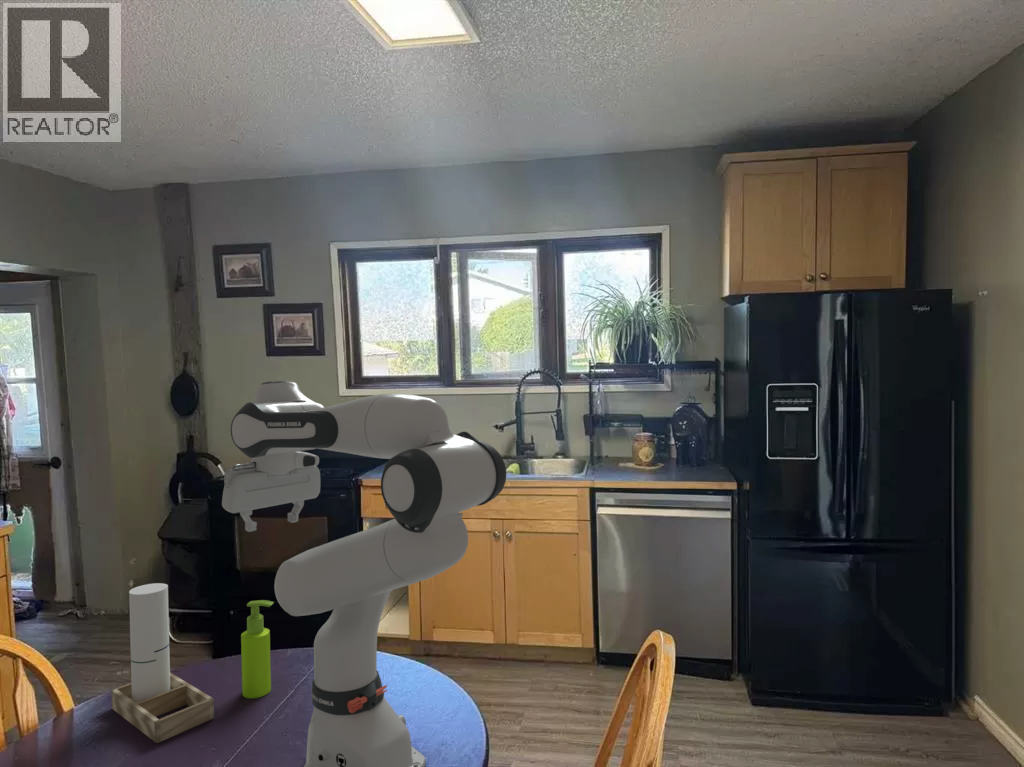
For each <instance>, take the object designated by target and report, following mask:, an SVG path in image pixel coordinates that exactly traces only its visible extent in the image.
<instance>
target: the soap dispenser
mask: <svg viewBox="0 0 1024 767" xmlns="http://www.w3.org/2000/svg"><path fill="white" fill-rule="evenodd" d="M274 603H275V601H271V600H268V599H267V600H266V599H260V600H259V599H258V600H250V601H249V602H248V603H247V604H246V607H250V615H249V616H247V618H246V630H245V631H243V632H242V633H241V634H240V642H241V643H240V645H241V648H240V650H241V652H240V653H241V654H240V656H241V682H242V683H241V687H242V691H241V692H242V693H241V695H242V697H244V698H246V699H258V698H261V697H265V696H266V695H267V694H270V693H271V691H272V677H271V676H272V673H271V671H272V670H271V633H270V632H271V630H270V629H269V628H266V627H264V624H265V623H264V615H263V614H262V613H260V607H267V608H270V607H271V606H272V605H274Z"/></svg>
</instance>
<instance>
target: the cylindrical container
mask: <svg viewBox="0 0 1024 767" xmlns="http://www.w3.org/2000/svg"><path fill="white" fill-rule="evenodd" d="M128 597H129V600H128V601H129V638H130V642H129V643H130V644H129V645H130V667H131V668H130V675H131V676H130V677H131V678H130V680H131V682H130V683H131V685H132V700H133V701H134V702H135V703H138V702H140V701H143V700H145V699H148V698H151V697H153V696H156V695H158V694H161V693H164V692H166V691H169V690H170V673H171V661H170V624H169V623H170V621H169V618H170V617H169V616H170V615H169V614H170V613H169V585H168V584H167V583H162V582H160V583H159V582H156V583H147V584H143V585H139V586H136V587H133V588H131V589H130V590H129V591H128Z"/></svg>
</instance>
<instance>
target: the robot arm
mask: <svg viewBox="0 0 1024 767" xmlns="http://www.w3.org/2000/svg"><path fill="white" fill-rule="evenodd" d="M230 436H231V440H232V442H233V444H234V445H235V446H236V447H237V449H238V450H239V451H240V452H242V454H244V455H246V456H247V457H248V458H251V462H250V461H249V462H244V463H241V464H240V463H236V464H233V465H231V467H229V468H227V470H226V471H224V477H223V478H224V479H223V480H224V481H223V483H224V487H223V491H222V498H221V506H222V508H223V509H224V510H225V511H227V512H228V513H231V514H238V513H239V515H240V517H241V519H243V522H244V529H245V531H246V532H248V533H251V532H255V531H257V526H258V523H257V522H258V521H254V520H252V519H251V517H250V516H252V515H253V511H254V510H258V509H259V510H260V509H265V508H269V507H274V506H280V505H281V506H282V505H285V504H291V503H292V504H293V506H292V508H291V511H290V512H287V522H289V523H290V524H291V523H297V522H299V514H300V513H301V511H302V509H303V508H304V505H305V501H307V500H312V499H316V498H318V496H319V494H320V493H321V472H320V469H319V467H318V465H319V463H320V457H319V455H316V454H314V453H310V452H306V451H311V450H316V449H318V450H325V451H332V452H338V453H343V454H344V453H345V454H351V455H356V456H357V455H358V456H361V457H369V458H376V459H386V460H388V461H387V462H386V464H385V465H384V467H383V470H382V475H381V478H380V490H381V491H380V492H381V495H382V499H383V501H384V503H385V505H386V507H387V509H388V511H389V512H390V514H391V516H392V517H394V518H392V519H390V520H388V521H386V522H383V523H380V524H378V525H376V526H372V527H370V528H368V529H363V530H362V531H358V532H356V533H353V534H349V535H346V536H344V537H340V538H337V539H335V540H332V541H330V542H328V543H324V544H321V545H319V546H315V547H312V548H310V549H307V550H305V551H303V552H300V553H299V554H297V555H296V554H295V556H293V557H291V558H288V559H287V560H285V561H283V562H282V563H281V564H280V566H279V567H278V569H277V572H276V575H275V578H274V586H273V588H274V594H275V598H276V600H277V603H278V604H279V606H280V607H281V609H283V611H284V612H286V613H287V614H289V615H290V616H293V617H302V616H311V615H317V614H323V613H325V612H329V611H332V612H331V615H329V618H328V619H327V620H326V622H325V623H324V624H323V625H322V626H321V627H320V628H319V630H318V631H317V633H316V635H315V638H314V641H313V672H314V673H313V674H314V675H313V676H314V677H313V680H312V682H311V686H312V687H311V692H310V693H311V702H312V705H313V710H312V711H313V712H312V714H311V718H310V721H309V725H308V729H307V730H308V731H307V739H306V740H307V742H306V756H305V764H304V765H303V767H426V763H427V762H426V756H424V755H423V754H422V753H421V752H420V751H418V750H417V749H416V748H415V747H414V746H412V740H411V739H412V738H411V735H410V731H409V729H408V727H407V726H406V725H407V722H406V720H407V719H406V718H405V717H404V715H403V714H399V715H398V714H397V712H396V711H395V710H394V708H393V707H392V706H391V704H390V702H389V701H387V699H386V697H385V693H386V692H388V689H386V688H387V687H388V686H387V684H385V685H383V684H382V679H381V677H380V674H379V673H380V672H379V671H378V670H377V668H378V667H377V664H378V663H377V659H378V658H377V654H378V653H377V650H378V649H377V648H378V647H377V646H378V633H379V626H380V622H381V619H382V615H383V612H384V609H385V605H386V603H387V601H388V599H389V597H390V595H391V592H392V591H395V590H397V589H400V588H403V587H407V586H410V585H413V584H416V583H419V582H422V581H425V580H426V581H427V580H428V579H430V578H433V577H435V576H438V575H440V574H442V573H443V572H445V571H447V570H449V569H450V568H451V567H453V566H455V565H456V564H458V563H459V562H460V561H461V560H462V558H463V557H464V556H465V554H466V552H467V550H468V545H469V532H468V529H467V526H466V524H465V521H464V520H463V515H464V513H463V512H464V511H467V510H470V509H472V508H474V507H477V506H478V507H479V506H483V505H486V504H488V503H489V502H491V501H492V500H494V499H495V498H496V497H497V496H498V495H499V494H501V492H502V491H503V489H504V487H505V484H506V481H507V467H506V463H505V461H504V459H503V457H502V455H501V454H500V452H499V451H498V450H497V449H496V448H495V447H493V446H492V445H491V444H489V443H486V442H485V441H482V440H480V439H477V437H474V436H473V435H472V434H471V433H469V432H467V431H460V432H459V433H456V434H454V433H453V432H452V431H451V430H450V427H449V420H448V416H447V413H446V411H445V409H444V408H443V406H442V405H441V404H440V403H439V402H438V401H436V400H434V399H432V398H429V397H425V396H421V395H415V394H409V393H393V392H392V393H381V394H373V395H369V396H364V397H361V398H357V399H353V400H348V401H345V402H342V403H338V404H334V405H329V406H325V405H323V404H322V403H320V402H319V401H318V402H317V401H314V400H312V399H311V398H309V397H307V396H306V395H305V394H304V393H303V392H302V391H301V389H300V387H299V384H298V383H297V382H294V381H291V380H276V381H275V380H274V381H273V380H272V381H265V382H262V383H260V384H258V386H257V389H256V391H255V395H254V401H253V402H251V401H250V402H246V403H245V404H244V405H243V406H242V407H241V408H240V409H239V410H238V411H237V412H236V414H235V415H234V417H233V418H232V420H231V424H230Z"/></svg>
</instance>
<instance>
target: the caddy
mask: <svg viewBox="0 0 1024 767" xmlns="http://www.w3.org/2000/svg"><path fill="white" fill-rule="evenodd" d="M110 692H111V709H112V710H113V711H114V712H116V713H117V714H118V715H120V716H121V717H122V718H123V719H125V720H126V721H127V722H129V723H130V724H131V725H132V726H133V727H135V728H136V729H137V730H139V731H140V732H141V733H142V734H144V735H146V736H147V737H148V738H149V739H150V740H151V741H153V742H155V743H156V744H158V743H161V742H163V741H165V740H167V739H170V738H172V737H174V736H177V735H180V734H181V733H183V732H186V731H188V730H191V729H194V728H195V727H197V726H200V725H202V724H204V723H206V722H209V721H211V720H213V719H215V699H214V698H213V697H212V696H210V695H208V694H206V693H205V692H204V691H201V689H199V688H197V687H195V686H194V685H192V684H190V683H188V682H187V681H185V680H183V679H182V678H181V677H178V676H177V675H175V674H174V673H172V672H170V690H169V691H166V692H164V693H161V694H158V695H156V696H153V697H151V698H148V699H145V700H143V701H140V702H138V703H135V702H134V701H133V700H132V685H131V682H129V683H126V684H124V685H121V686H119V687H118V686H117V687H114V688H112V689H111V691H110ZM183 706H187V707H186V708H183V709H181V710H179V711H176V712H174V713H171V714H169V715H166V716H164V717H161V718H158V717H159V716H161V715H165V713H169V712H171V711H173V710H176V709H179V708H181V707H183Z"/></svg>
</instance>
